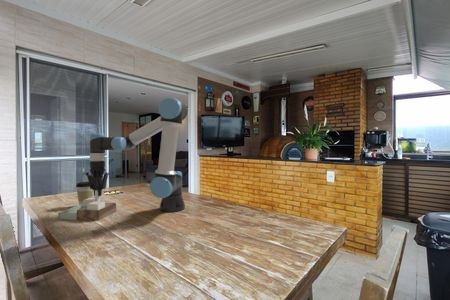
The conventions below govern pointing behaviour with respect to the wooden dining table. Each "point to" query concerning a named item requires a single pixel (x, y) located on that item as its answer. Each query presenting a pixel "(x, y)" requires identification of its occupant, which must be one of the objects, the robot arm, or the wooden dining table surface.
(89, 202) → the tile
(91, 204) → the tile
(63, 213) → the tray
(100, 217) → the board
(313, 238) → the wooden dining table surface
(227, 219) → the wooden dining table surface
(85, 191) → the coffee cup
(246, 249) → the wooden dining table surface
